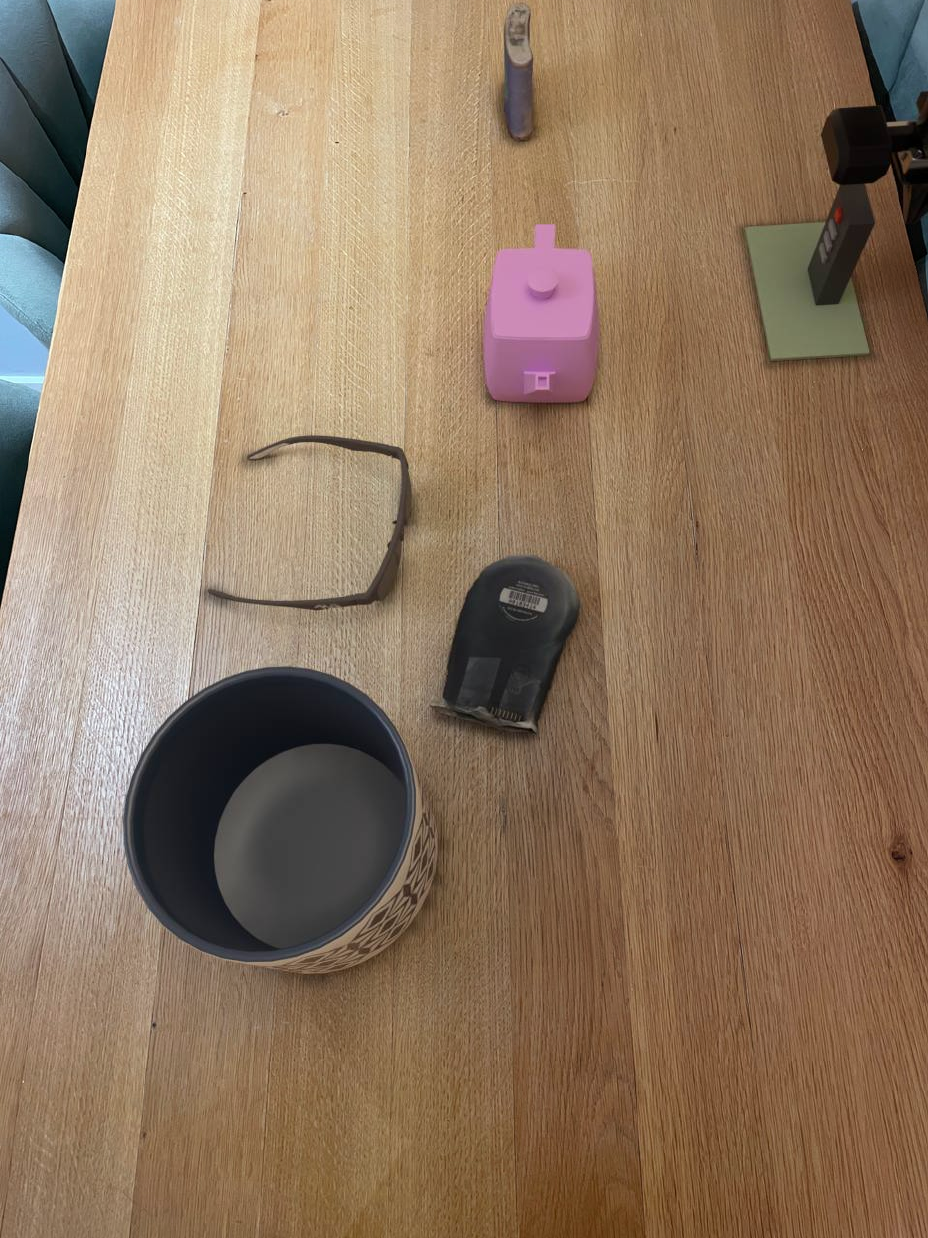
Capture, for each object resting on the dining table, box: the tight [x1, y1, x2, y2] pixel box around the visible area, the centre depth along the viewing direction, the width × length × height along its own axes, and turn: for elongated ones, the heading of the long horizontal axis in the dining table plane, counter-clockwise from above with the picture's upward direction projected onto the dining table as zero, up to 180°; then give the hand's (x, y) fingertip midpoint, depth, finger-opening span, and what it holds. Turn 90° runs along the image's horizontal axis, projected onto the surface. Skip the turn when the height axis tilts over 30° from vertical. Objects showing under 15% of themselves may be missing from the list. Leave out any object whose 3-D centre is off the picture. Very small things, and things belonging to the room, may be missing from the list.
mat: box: [744, 221, 870, 362], centre depth 90 cm, size 16×9×1 cm, turn 2°
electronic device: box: [428, 554, 581, 737], centre depth 76 cm, size 9×6×15 cm
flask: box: [503, 2, 534, 142], centre depth 97 cm, size 9×3×11 cm, turn 1°
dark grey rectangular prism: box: [808, 184, 876, 305], centre depth 85 cm, size 2×4×10 cm, turn 2°
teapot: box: [483, 223, 600, 404], centre depth 84 cm, size 18×10×10 cm, turn 177°
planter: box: [122, 665, 439, 975], centre depth 65 cm, size 18×18×16 cm
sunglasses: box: [207, 434, 413, 611], centre depth 81 cm, size 16×17×5 cm
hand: (908, 220), depth 83 cm, fingers closed
